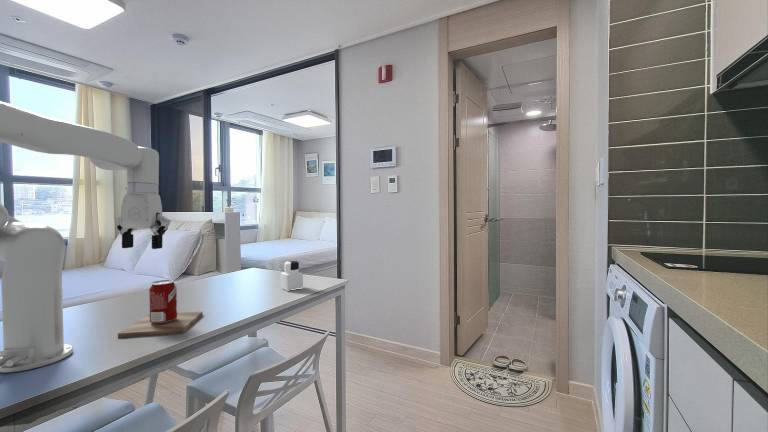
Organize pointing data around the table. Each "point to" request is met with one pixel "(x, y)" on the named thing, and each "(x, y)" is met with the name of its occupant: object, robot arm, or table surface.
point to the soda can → (163, 301)
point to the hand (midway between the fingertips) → (142, 248)
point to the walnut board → (161, 326)
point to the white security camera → (291, 276)
